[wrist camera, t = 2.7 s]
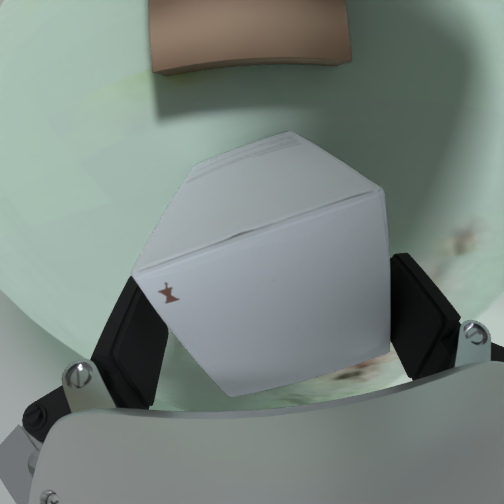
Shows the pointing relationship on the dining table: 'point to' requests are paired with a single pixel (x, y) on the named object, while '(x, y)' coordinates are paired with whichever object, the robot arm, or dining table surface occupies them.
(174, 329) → the supplement box
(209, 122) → the dining table surface
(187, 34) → the walnut base
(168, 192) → the dining table surface
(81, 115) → the dining table surface
